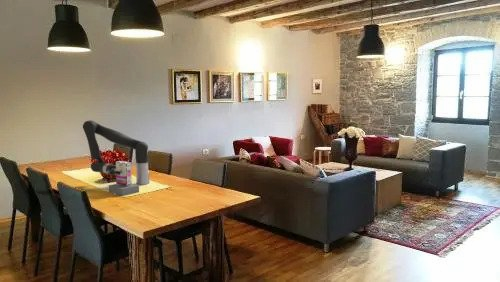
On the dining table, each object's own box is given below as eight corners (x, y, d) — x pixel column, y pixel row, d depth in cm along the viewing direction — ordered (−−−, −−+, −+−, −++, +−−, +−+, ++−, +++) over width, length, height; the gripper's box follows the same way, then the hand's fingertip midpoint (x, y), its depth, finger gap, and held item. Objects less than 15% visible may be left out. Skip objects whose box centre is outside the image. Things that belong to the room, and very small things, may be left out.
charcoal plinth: (125, 188, 295) (125, 182, 295) (139, 192, 285) (138, 185, 284) (108, 192, 284) (108, 185, 284) (122, 196, 274) (122, 189, 273)
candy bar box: (132, 184, 284) (131, 162, 281) (126, 185, 279) (126, 163, 277) (120, 182, 289) (120, 160, 287) (115, 183, 284) (115, 161, 282)
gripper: (101, 165, 287) (114, 168, 277) (118, 163, 298) (131, 166, 288) (101, 175, 288) (114, 179, 277) (118, 172, 299) (131, 175, 289)
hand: (123, 172), depth 283 cm, fingers closed on candy bar box, 5 cm apart
